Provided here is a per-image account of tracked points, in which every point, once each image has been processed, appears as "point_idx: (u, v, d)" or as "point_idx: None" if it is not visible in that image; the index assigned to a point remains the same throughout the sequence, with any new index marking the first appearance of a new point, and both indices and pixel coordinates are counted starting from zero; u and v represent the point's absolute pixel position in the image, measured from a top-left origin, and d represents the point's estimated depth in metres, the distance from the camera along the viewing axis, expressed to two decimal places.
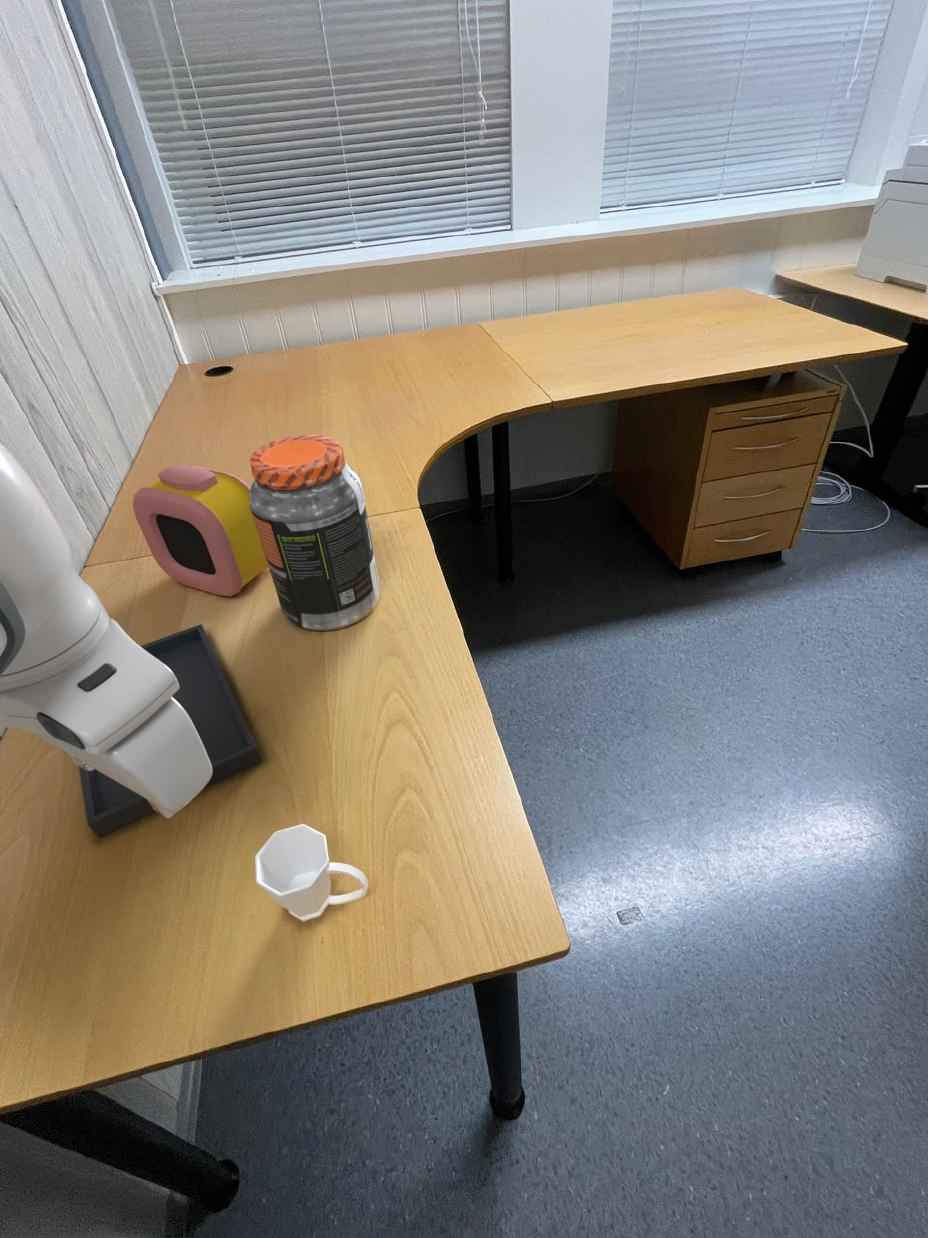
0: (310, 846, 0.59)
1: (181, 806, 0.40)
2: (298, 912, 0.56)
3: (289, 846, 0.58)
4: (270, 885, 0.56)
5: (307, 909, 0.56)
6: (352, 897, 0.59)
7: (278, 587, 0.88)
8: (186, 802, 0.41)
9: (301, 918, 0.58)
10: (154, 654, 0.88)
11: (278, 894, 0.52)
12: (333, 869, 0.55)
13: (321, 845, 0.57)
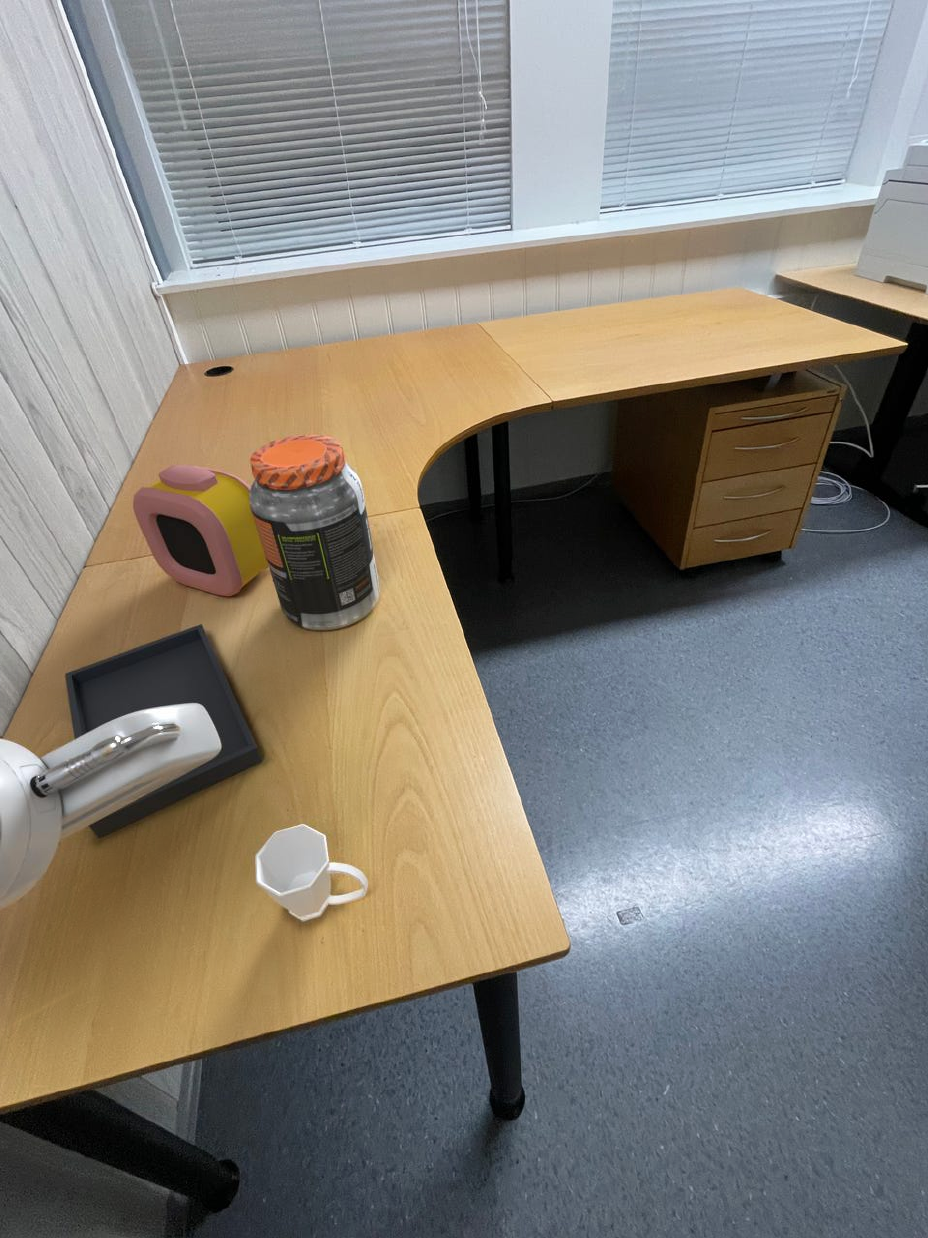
0: (310, 846, 0.59)
1: None
2: (298, 912, 0.56)
3: (289, 846, 0.58)
4: (270, 885, 0.56)
5: (307, 909, 0.56)
6: (352, 897, 0.59)
7: (278, 587, 0.88)
8: None
9: (301, 918, 0.58)
10: (154, 654, 0.88)
11: (278, 894, 0.52)
12: (333, 869, 0.55)
13: (321, 845, 0.57)
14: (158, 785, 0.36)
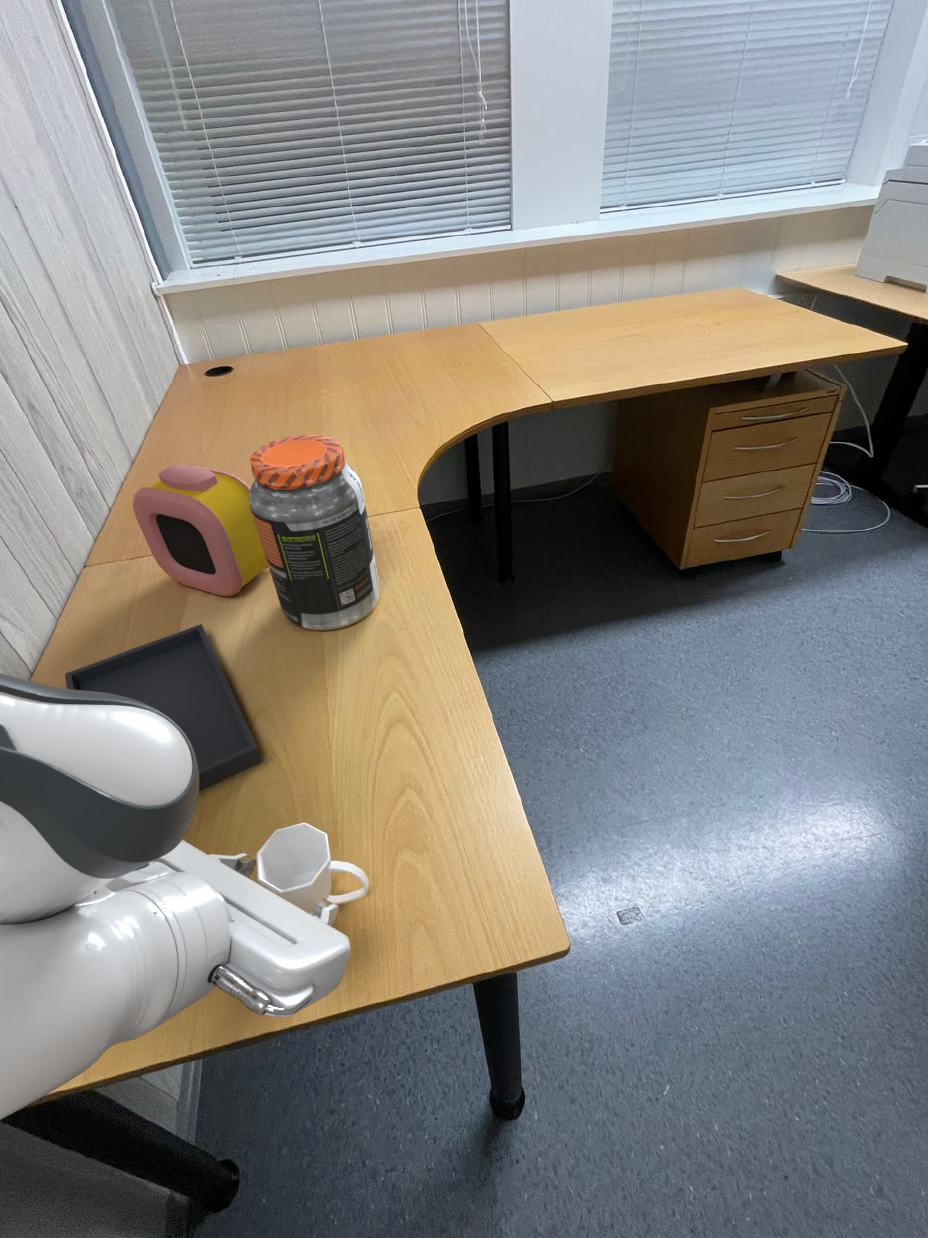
0: (311, 845, 0.59)
1: None
2: None
3: (290, 845, 0.58)
4: (271, 883, 0.56)
5: (307, 908, 0.56)
6: (352, 897, 0.59)
7: (278, 587, 0.88)
8: None
9: None
10: (154, 654, 0.88)
11: (279, 891, 0.53)
12: (335, 868, 0.55)
13: (322, 844, 0.58)
14: None
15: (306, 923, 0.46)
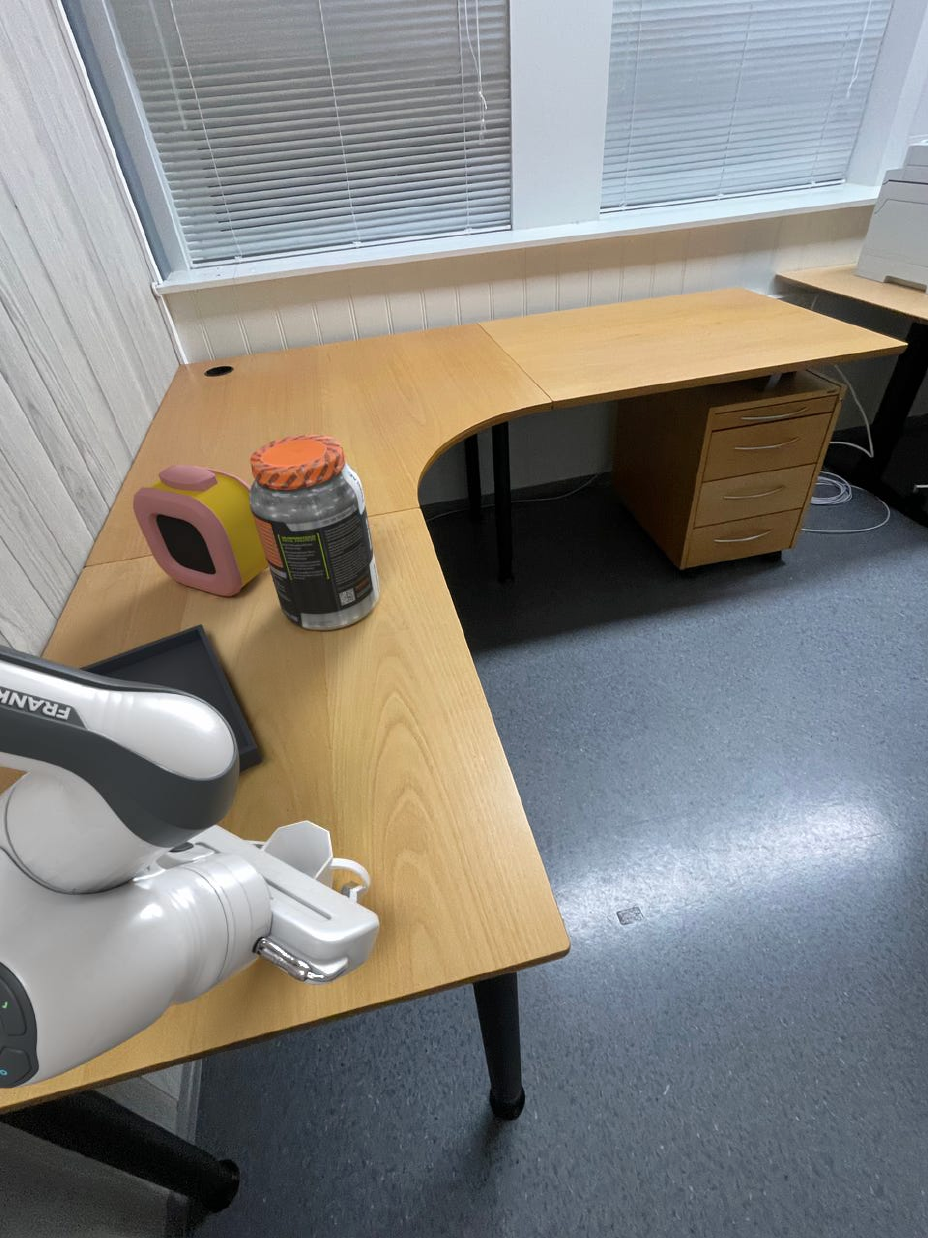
0: (313, 843, 0.59)
1: None
2: None
3: (292, 843, 0.59)
4: None
5: None
6: None
7: (278, 587, 0.88)
8: None
9: None
10: (154, 654, 0.88)
11: None
12: (337, 865, 0.55)
13: (324, 842, 0.58)
14: None
15: (338, 901, 0.50)
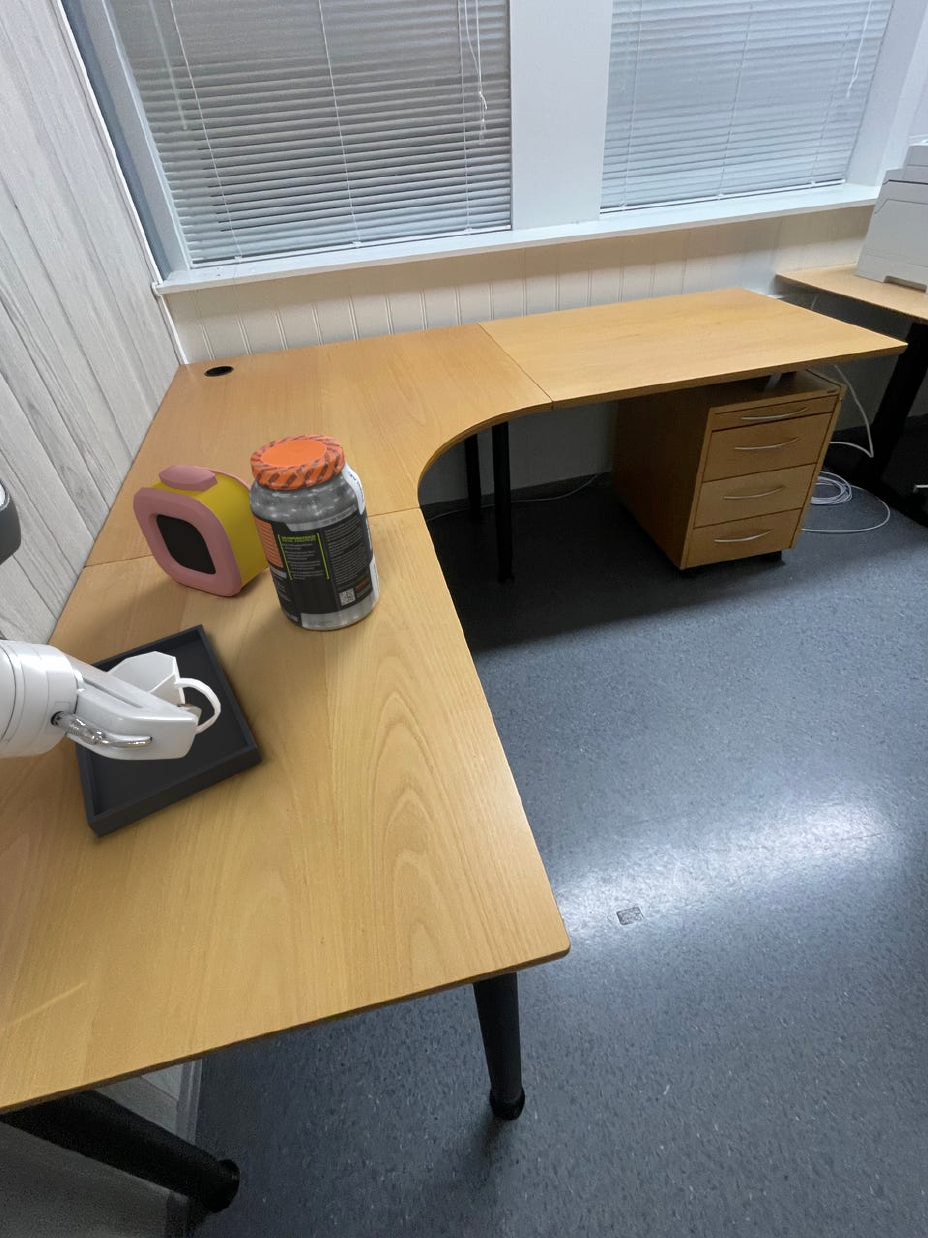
0: (164, 675, 0.60)
1: None
2: None
3: (143, 675, 0.60)
4: None
5: None
6: (207, 723, 0.60)
7: (278, 587, 0.88)
8: None
9: None
10: None
11: None
12: (180, 682, 0.57)
13: None
14: None
15: (159, 703, 0.51)
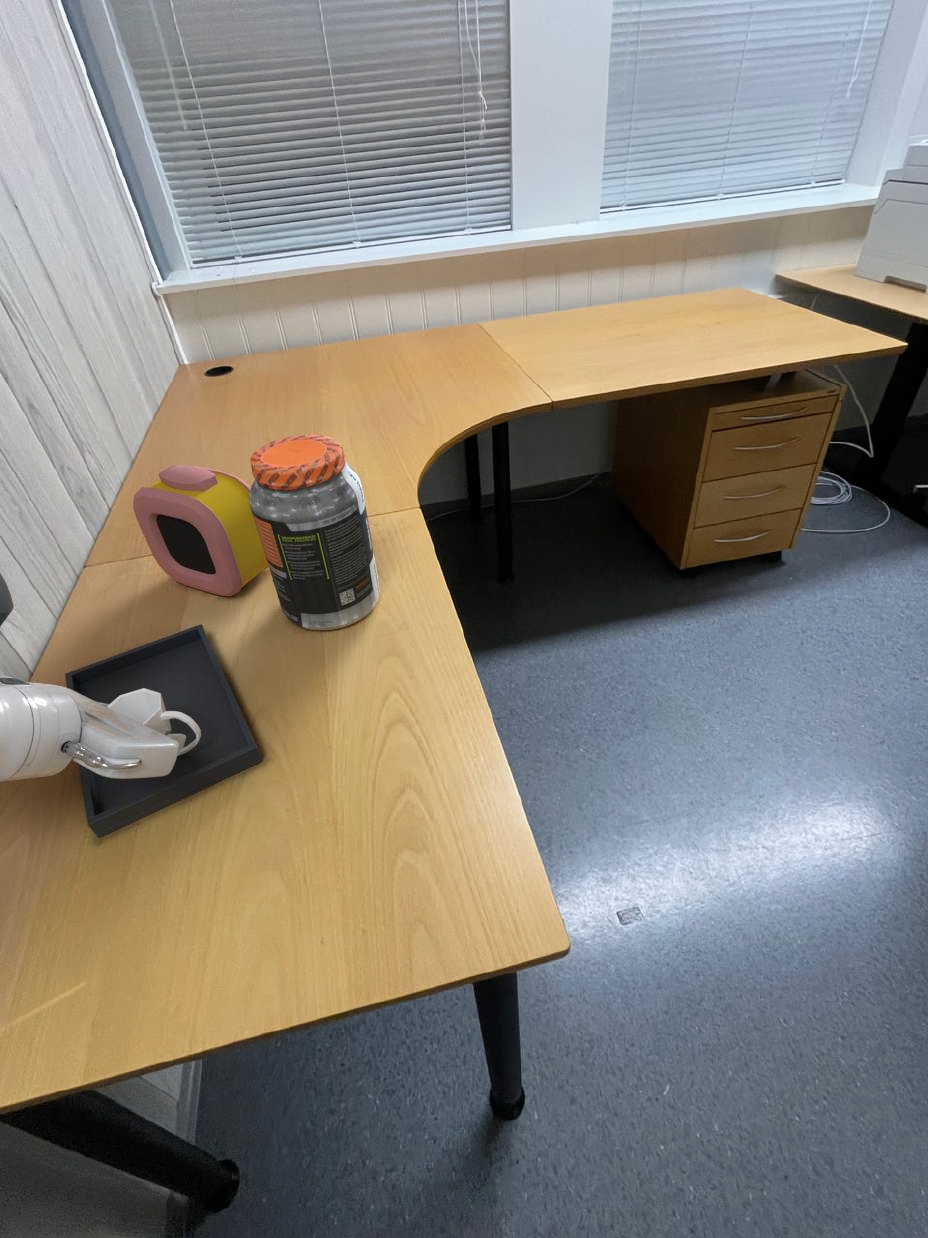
0: (152, 707, 0.72)
1: None
2: None
3: (134, 708, 0.72)
4: None
5: None
6: (190, 745, 0.72)
7: (278, 587, 0.88)
8: None
9: None
10: (154, 654, 0.88)
11: None
12: (166, 715, 0.69)
13: None
14: None
15: (147, 731, 0.63)
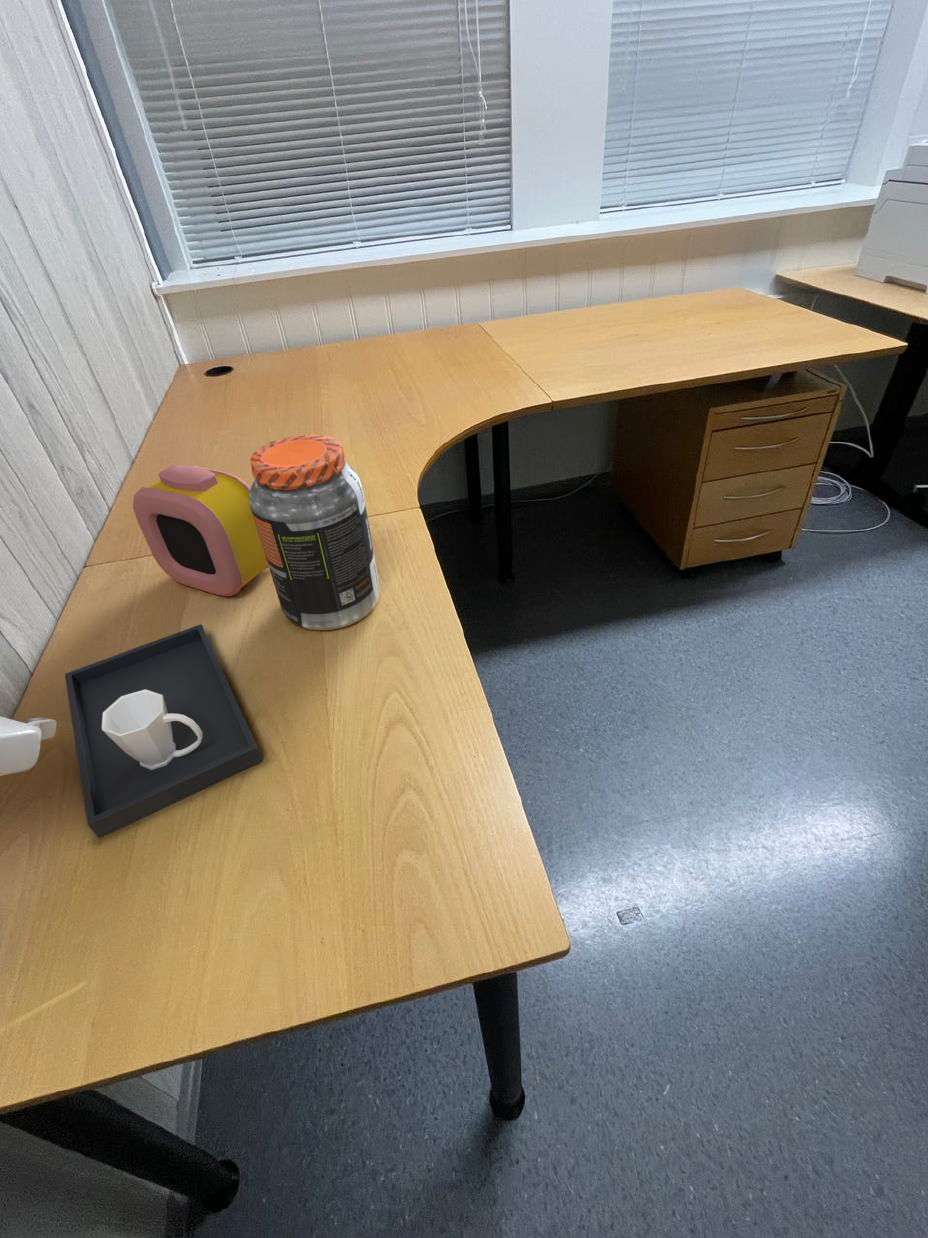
0: (153, 708, 0.72)
1: None
2: (143, 757, 0.70)
3: (135, 709, 0.72)
4: None
5: (151, 754, 0.70)
6: (191, 747, 0.73)
7: (278, 587, 0.88)
8: None
9: (149, 767, 0.72)
10: (154, 654, 0.88)
11: (119, 734, 0.66)
12: (168, 718, 0.69)
13: (161, 704, 0.71)
14: None
15: None
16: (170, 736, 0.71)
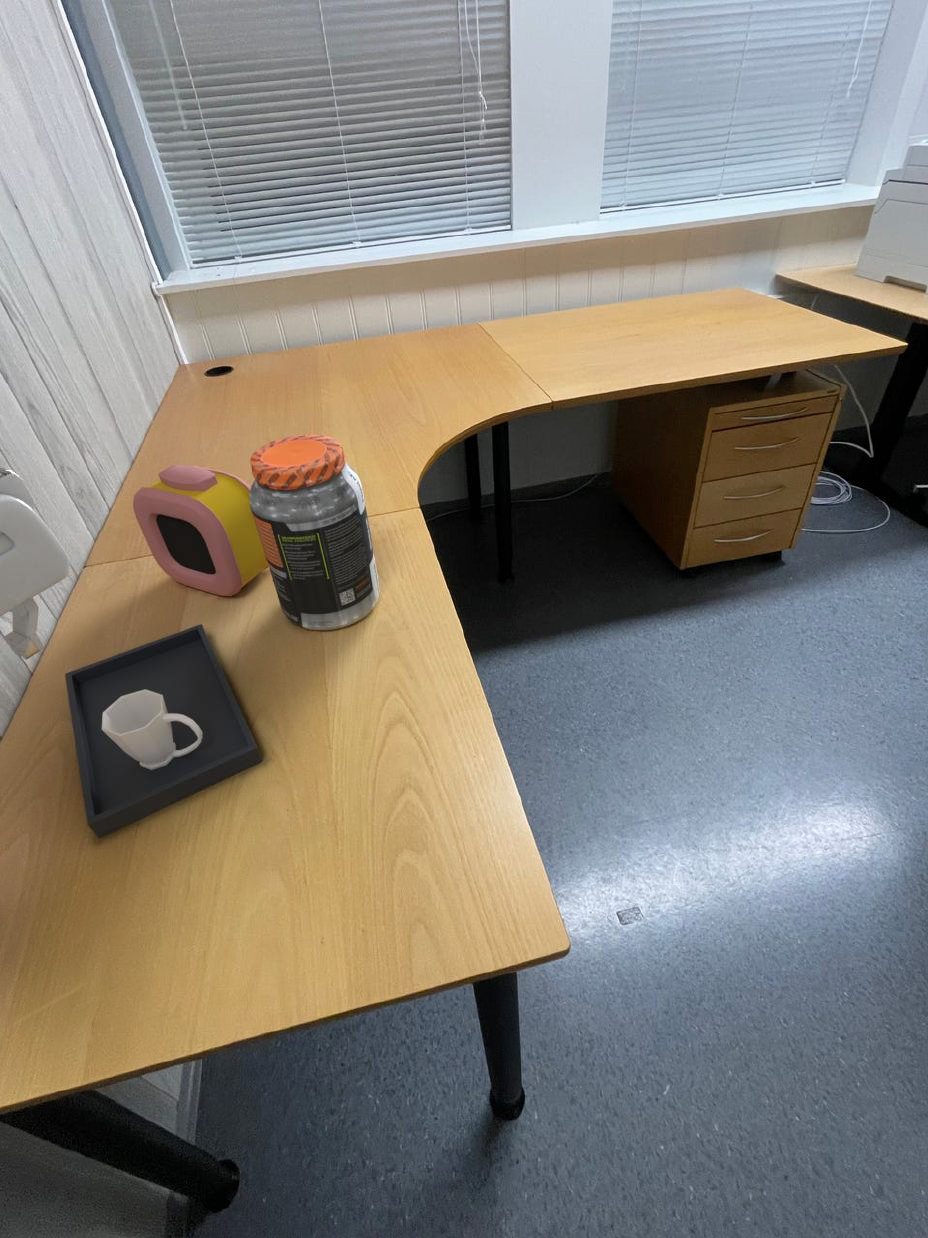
0: (153, 708, 0.72)
1: None
2: (143, 757, 0.70)
3: (135, 709, 0.72)
4: None
5: (151, 754, 0.70)
6: (191, 747, 0.73)
7: (278, 587, 0.88)
8: None
9: (149, 767, 0.72)
10: (154, 654, 0.88)
11: (119, 734, 0.66)
12: (168, 718, 0.69)
13: (161, 704, 0.71)
14: (16, 583, 0.42)
15: None
16: (170, 736, 0.71)
